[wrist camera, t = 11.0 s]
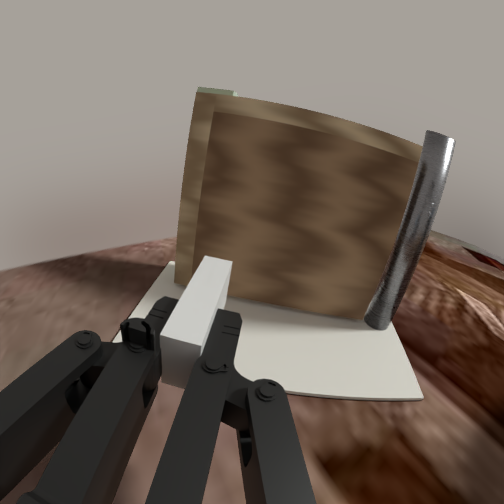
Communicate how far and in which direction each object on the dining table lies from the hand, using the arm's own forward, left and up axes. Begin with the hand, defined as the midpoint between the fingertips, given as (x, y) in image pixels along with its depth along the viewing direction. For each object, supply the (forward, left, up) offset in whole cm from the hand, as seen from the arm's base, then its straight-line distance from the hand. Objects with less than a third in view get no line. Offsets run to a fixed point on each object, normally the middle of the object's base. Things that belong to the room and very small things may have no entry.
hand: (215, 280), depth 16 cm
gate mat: (-8, -2, -7) cm, 11 cm away
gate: (-9, -5, -6) cm, 12 cm away
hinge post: (-18, +1, -7) cm, 19 cm away
